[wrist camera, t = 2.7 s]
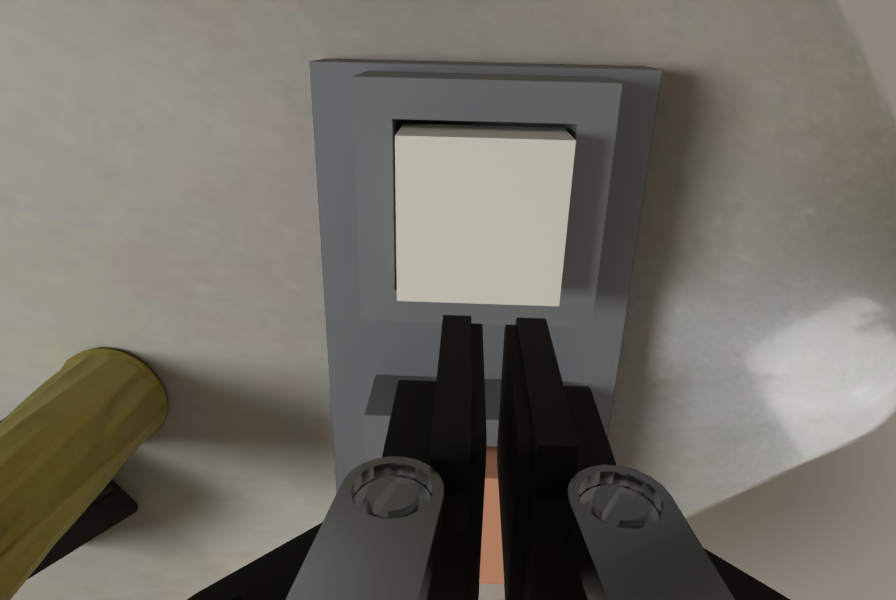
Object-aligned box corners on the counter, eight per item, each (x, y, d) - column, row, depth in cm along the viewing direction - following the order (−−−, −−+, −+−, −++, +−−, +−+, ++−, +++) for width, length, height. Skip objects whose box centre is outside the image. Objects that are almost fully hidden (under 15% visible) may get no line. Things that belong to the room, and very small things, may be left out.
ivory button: (403, 123, 23) (394, 135, 21) (563, 127, 23) (576, 140, 20) (404, 272, 26) (396, 301, 23) (549, 277, 26) (559, 306, 23)
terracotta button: (406, 432, 29) (399, 474, 26) (534, 437, 29) (541, 480, 26) (406, 531, 31) (400, 579, 28) (525, 536, 31) (530, 585, 28)
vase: (187, 386, 35) (14, 601, 21) (140, 456, 37) (-44, 692, 24) (86, 326, 33) (-164, 516, 20) (44, 402, 35) (-208, 620, 22)
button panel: (325, 58, 27) (285, 65, 22) (642, 66, 27) (691, 75, 21) (348, 488, 37) (324, 576, 31) (583, 498, 37) (605, 588, 31)
